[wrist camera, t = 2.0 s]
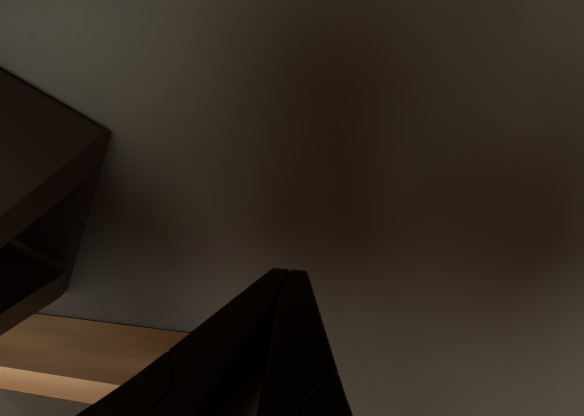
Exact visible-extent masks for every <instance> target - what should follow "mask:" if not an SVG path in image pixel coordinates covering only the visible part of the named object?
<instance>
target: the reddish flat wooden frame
mask: <svg viewBox="0 0 584 416" xmlns="http://www.w3.org/2000/svg"><path fill="white" fill-rule="evenodd" d="M188 334H189V333H184V332H176V331H168V330H160V329H153V328H145V327H137V326H129V325H121V324H113V323H105V322H97V321H90V320H82V319H74V318H66V317H58V316H50V315H42V314H33V315H32V316H30V317H29V318H27V319H26V320H24V321H23V322H21V323H20V324H18V325H16V326H15V327H13V328H12V329H10V330H9V331H7V332H6V333H4V334H3V335H1V336H0V388H3V389H9V390H14V391H20V392H26V393H32V394H38V395H44V396H49V397H55V398H61V399H67V400H73V401H79V402H84V403H90V404H94V403H95V402H97V401H98V400H100V399H102V398H103V397H104V396H106V395H107V394H109V393H110V392H112V391H113V390H115V389H116V388H118V387H119V386H120V385H122V384H123V383H125V382H126V381H128V380H129V379H131V378H132V377H133V376H135V375H136V374H137V373H139V372H140V371H141V370H143V369H144V368H145V367H147V366H148V365H149V364H151V363H152V362H153V361H154V360H156V359H157V358H158V357H160V356H161V355H162V354H163V353H165V352H169V349H170V348H171V347H173V346H174V345H175V344H176V343H178V342H179V341H180V340H181V339H183V338H184V337H185V336H187V335H188Z"/></svg>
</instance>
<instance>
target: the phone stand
mask: <svg viewBox="0 0 584 416" xmlns="http://www.w3.org/2000/svg"><path fill="white" fill-rule="evenodd" d="M109 139H110V133H109V132H108V131H106V130H104V129H102V128H101V127H99V126H97V125H95V124H94V123H92V122H90V121H88V120H87V119H85V118H83V117H81V116H80V115H78V114H76V113H75V112H73V111H71V110H69V109H68V108H66V107H64V106H62V105H61V104H59V103H57V102H55V101H54V100H52V99H50V98H48V97H47V96H45V95H43V94H41V93H40V92H38V91H36V90H34V89H33V88H31V87H29V86H27V85H26V84H24V83H22V82H20V81H19V80H17V79H15V78H13V77H12V76H10V75H8V74H6V73H5V72H3V71H1V70H0V336H1V335H3V334H4V333H6V332H7V331H9V330H10V329H12V328H13V327H15V326H16V325H18V324H20V323H21V322H23V321H24V320H26V319H27V318H29V317H30V316H32V315H33V314H35V313H36V312H38V311H40V310H41V309H43V308H44V307H46V306H47V305H49V304H50V303H52V302H53V301H55V300H57V299H58V298H59V297H61V296H62V295H63V293H64V292H65V291H66V289H67V287H68V283H69V280H70V276H71V273H72V269H73V266H74V262H75V259H76V255H77V252H78V248H79V245H80V241H81V238H82V234H83V231H84V227H85V225H84V224H83V223H84V221H85V220H86V219H87V217H88V213H89V210H90V206H91V202H92V199H93V195H94V192H95V188H96V185H97V181H98V178H99V174H100V171H101V167H102V164H103V160H104V157H105V153H106V150H107V146H108V143H109Z"/></svg>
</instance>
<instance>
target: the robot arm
mask: <svg viewBox="0 0 584 416" xmlns="http://www.w3.org/2000/svg"><path fill="white" fill-rule="evenodd" d="M76 416H353V415H352V412H351V409H350V406H349V403H348V401H347V398H346V395H345V392H344V389H343V386H342V382H341V379H340V376H339V375H338V370H337V367H336V364H335V360H334V357H333V354H332V351H331V347H330V344H329V341H328V338H327V334H326V331H325V328H324V325H323V321H322V318H321V315H320V312H319V308H318V305H317V302H316V299H315V296H314V292H313V289H312V286H311V283H310V279H309V276H308V273H307V272H306V271H302V270H290V272H289V270H288V269H280V268H272V269H271V270H269V271H268V272H267V273H266V274H264V275H263V276H262V277H260V278H259V279H258V280H257V281H255V282H254V283H253V284H252V285H250V286H249V287H248V288H246V289H245V290H244V291H243V292H241V293H240V294H239V295H238V296H236V297H235V298H234V299H232V300H231V301H230V302H229V303H227V304H226V305H225V306H223V307H222V308H221V309H220V310H218V311H217V312H216V313H215V314H213V315H212V316H211V317H209V318H208V319H207V320H206V321H204V322H203V323H202V324H201V325H199V326H198V327H197V328H195V329H194V330H193V331H192V332H190V333H189V334H188V335H187V336H185V337H184V338H183V339H181V340H180V341H179V342H178V343H176V344H175V345H174V346H173V347H171V348H170V349H169V352H165V353H163V354H162V355H161V356H160V357H158V358H157V359H156V360H154V361H153V362H152V363H151V364H149V365H148V366H147V367H145V368H144V369H143V370H141V371H140V372H139V373H137V374H136V375H135V376H133V377H132V378H131V379H129V380H128V381H126V382H125V383H123V384H122V385H120V386H119V387H118V388H116V389H115V390H113V391H112V392H110V393H109V394H107V395H106V396H104V397H103V398H102V399H100V400H98V401H97V402H95V403H94V404H92V405H91V406H89V407H88V408H86V409H85V410H83V411H82V412H80V413H79V414H77V415H76Z"/></svg>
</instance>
